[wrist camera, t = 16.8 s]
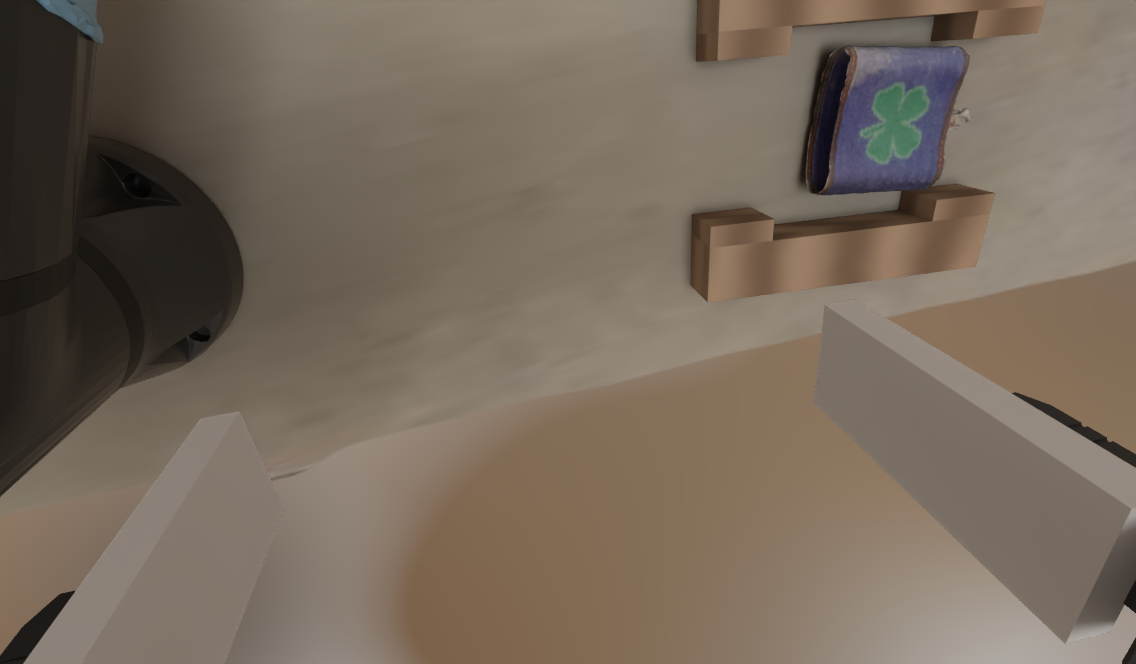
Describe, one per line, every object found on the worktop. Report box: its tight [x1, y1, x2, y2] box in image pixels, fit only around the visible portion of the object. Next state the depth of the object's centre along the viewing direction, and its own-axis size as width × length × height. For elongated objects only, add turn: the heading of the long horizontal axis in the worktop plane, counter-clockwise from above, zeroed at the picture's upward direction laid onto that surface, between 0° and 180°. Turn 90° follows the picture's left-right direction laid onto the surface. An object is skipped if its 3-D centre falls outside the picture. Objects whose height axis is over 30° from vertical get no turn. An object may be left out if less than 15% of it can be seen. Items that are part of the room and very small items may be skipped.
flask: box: [806, 46, 971, 195], centre depth 37 cm, size 9×3×11 cm
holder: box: [691, 0, 1046, 302], centre depth 37 cm, size 21×21×4 cm
